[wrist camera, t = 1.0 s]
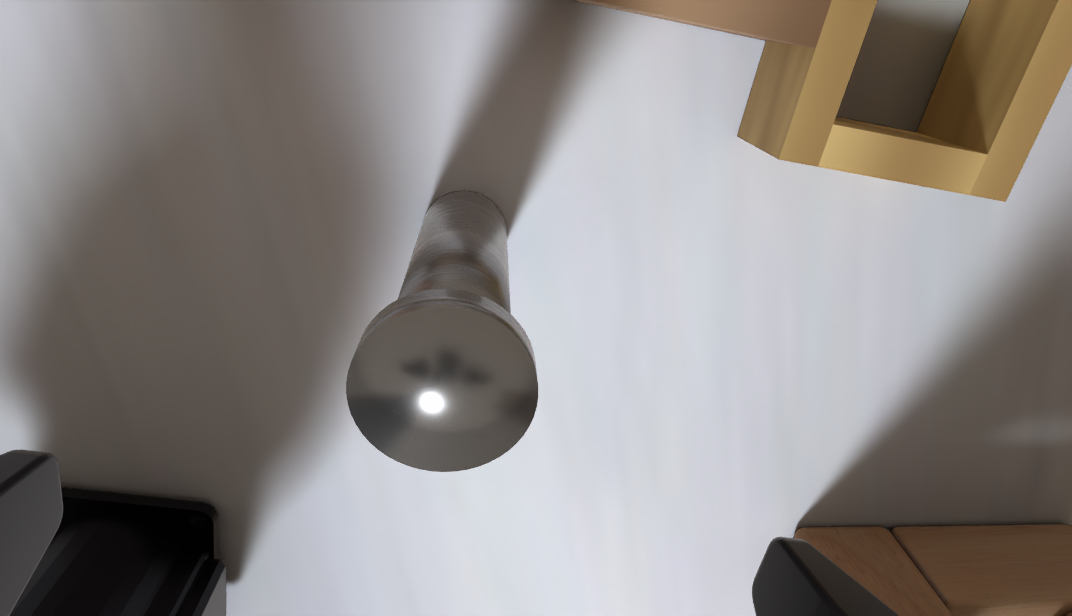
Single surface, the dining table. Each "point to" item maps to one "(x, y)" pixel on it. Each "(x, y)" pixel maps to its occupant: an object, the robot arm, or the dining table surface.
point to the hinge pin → (447, 349)
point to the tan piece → (952, 112)
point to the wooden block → (956, 567)
